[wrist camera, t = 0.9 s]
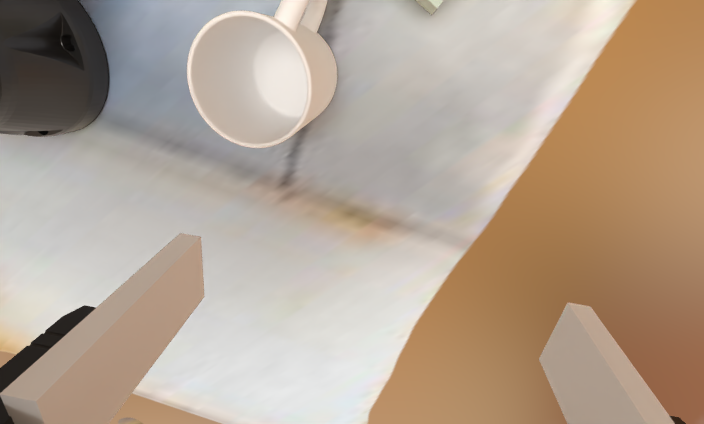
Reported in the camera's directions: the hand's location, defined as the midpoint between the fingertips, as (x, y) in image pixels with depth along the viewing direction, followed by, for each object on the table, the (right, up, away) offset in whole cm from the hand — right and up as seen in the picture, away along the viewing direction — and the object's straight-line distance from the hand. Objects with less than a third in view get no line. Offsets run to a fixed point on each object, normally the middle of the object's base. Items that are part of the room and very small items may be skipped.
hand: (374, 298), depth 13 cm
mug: (-5, +17, +19) cm, 26 cm away
